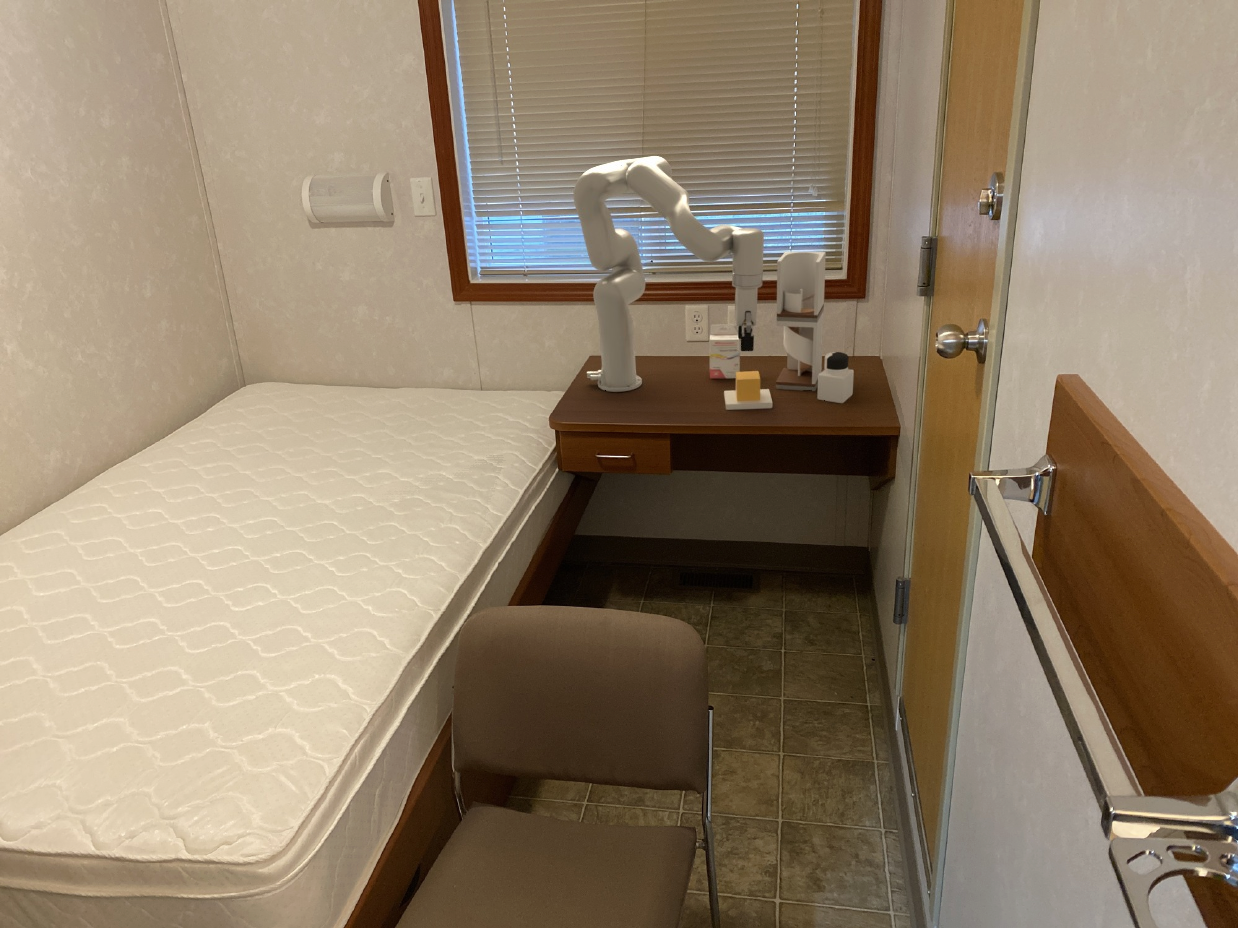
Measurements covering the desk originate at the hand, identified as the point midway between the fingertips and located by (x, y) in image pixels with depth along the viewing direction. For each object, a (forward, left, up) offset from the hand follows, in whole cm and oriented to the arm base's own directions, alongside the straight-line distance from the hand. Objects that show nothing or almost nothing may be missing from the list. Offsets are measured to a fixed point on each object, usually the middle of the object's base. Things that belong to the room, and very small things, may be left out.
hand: (745, 344), depth 235 cm
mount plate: (+1, 0, -16) cm, 16 cm away
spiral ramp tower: (+16, +13, -16) cm, 26 cm away
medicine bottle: (+24, +1, -16) cm, 28 cm away
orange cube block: (+1, 0, -14) cm, 14 cm away
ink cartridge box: (-4, +21, -16) cm, 27 cm away
